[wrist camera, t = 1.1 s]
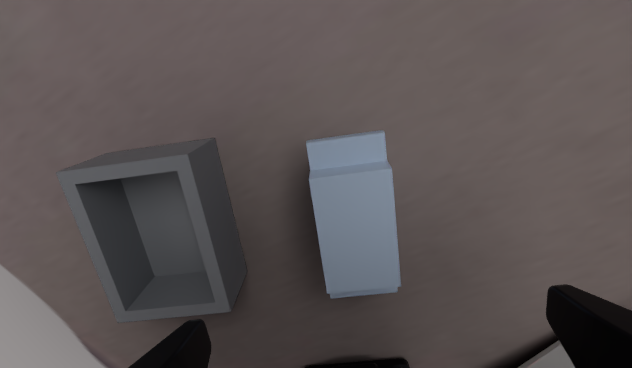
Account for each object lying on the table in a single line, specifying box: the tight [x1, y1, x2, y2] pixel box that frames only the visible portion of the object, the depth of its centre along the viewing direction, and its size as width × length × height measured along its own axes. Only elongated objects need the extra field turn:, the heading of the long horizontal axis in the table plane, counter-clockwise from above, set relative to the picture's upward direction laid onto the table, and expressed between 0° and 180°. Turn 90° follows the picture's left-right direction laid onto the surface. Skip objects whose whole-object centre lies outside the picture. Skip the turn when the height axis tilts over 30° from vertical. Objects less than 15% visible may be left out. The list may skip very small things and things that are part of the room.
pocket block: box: [56, 138, 247, 323], centre depth 16 cm, size 8×6×3 cm
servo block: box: [306, 130, 401, 298], centre depth 15 cm, size 7×3×4 cm, turn 8°
